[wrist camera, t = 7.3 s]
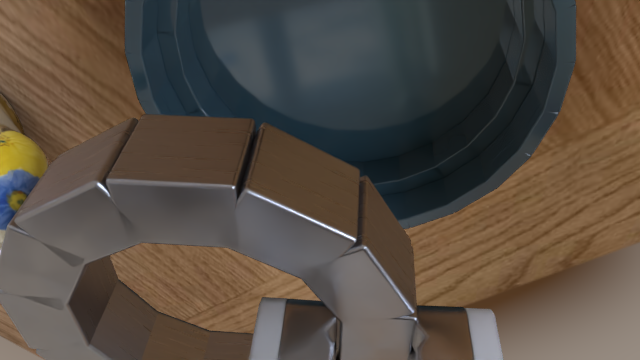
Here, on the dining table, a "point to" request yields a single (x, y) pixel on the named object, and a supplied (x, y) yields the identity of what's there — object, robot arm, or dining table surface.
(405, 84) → the bowl
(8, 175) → the teapot
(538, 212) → the dining table surface
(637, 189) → the dining table surface
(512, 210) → the dining table surface
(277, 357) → the robot arm
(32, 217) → the ring
